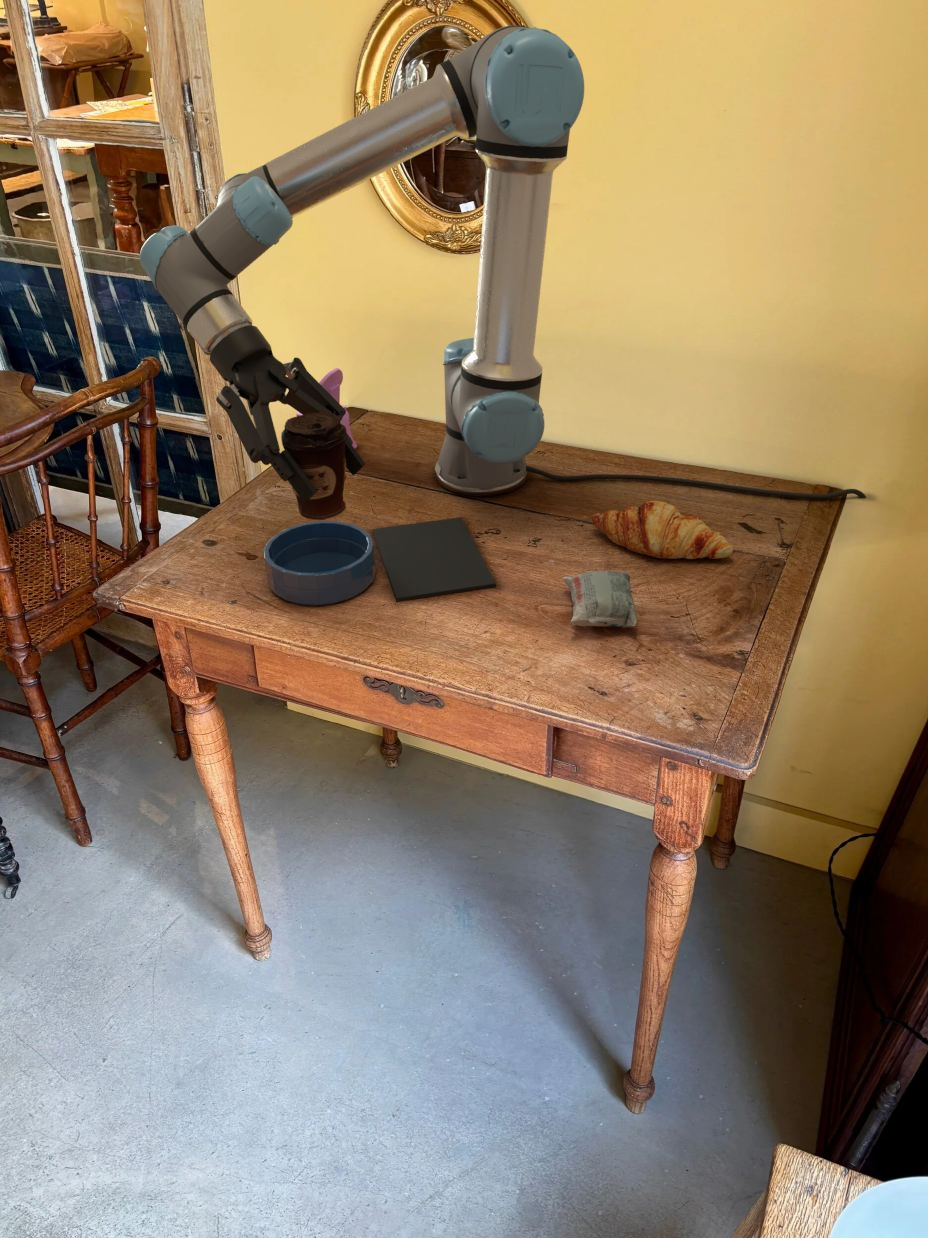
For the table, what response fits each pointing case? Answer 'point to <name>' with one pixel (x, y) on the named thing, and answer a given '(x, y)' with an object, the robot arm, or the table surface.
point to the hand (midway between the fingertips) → (335, 482)
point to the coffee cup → (319, 461)
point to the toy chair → (336, 395)
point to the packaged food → (602, 599)
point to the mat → (431, 559)
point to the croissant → (661, 532)
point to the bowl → (320, 562)
